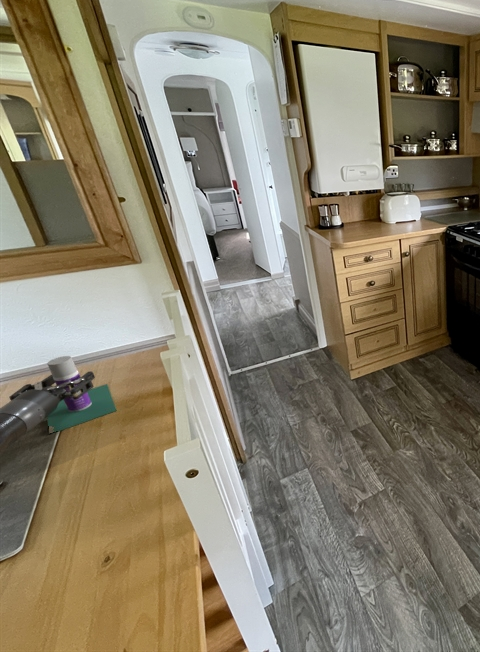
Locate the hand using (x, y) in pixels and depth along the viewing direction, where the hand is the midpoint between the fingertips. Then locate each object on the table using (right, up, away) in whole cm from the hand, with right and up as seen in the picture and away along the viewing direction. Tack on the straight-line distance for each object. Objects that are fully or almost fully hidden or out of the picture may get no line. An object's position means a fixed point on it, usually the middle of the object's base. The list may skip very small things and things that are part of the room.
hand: (73, 375), depth 103 cm
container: (0, -9, +2) cm, 9 cm away
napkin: (0, -9, +2) cm, 9 cm away
